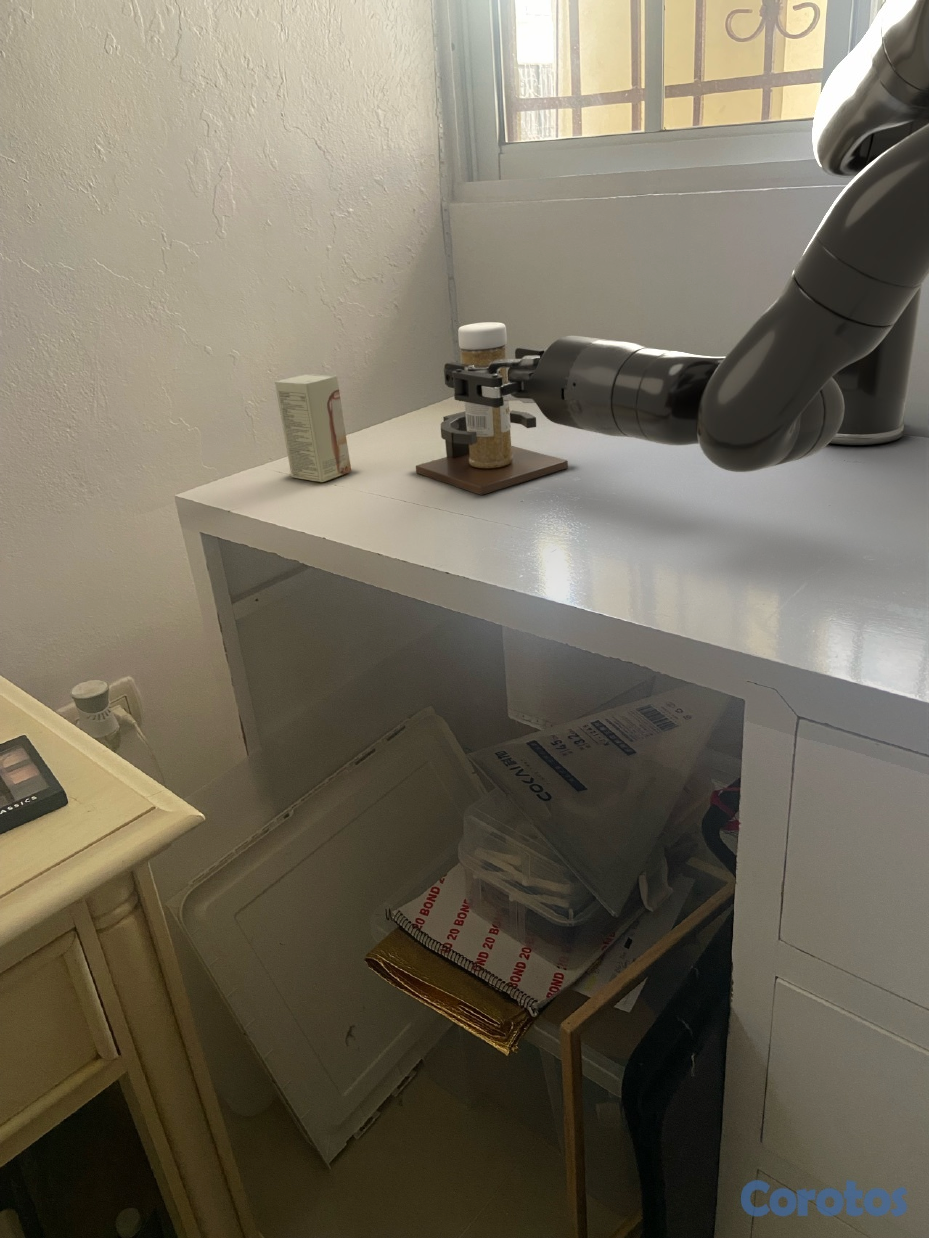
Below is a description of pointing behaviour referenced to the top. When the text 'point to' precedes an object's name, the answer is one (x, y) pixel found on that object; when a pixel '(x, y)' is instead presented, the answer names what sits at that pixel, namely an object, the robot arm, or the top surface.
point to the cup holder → (480, 479)
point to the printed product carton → (313, 426)
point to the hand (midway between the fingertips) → (483, 366)
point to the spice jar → (489, 422)
